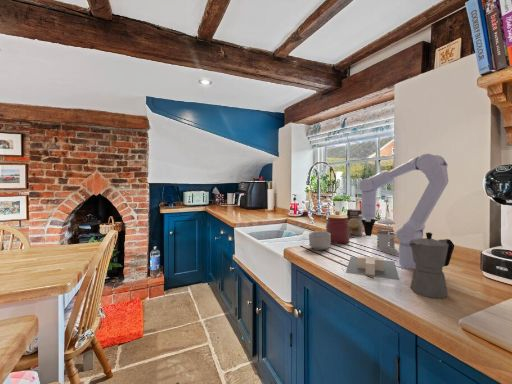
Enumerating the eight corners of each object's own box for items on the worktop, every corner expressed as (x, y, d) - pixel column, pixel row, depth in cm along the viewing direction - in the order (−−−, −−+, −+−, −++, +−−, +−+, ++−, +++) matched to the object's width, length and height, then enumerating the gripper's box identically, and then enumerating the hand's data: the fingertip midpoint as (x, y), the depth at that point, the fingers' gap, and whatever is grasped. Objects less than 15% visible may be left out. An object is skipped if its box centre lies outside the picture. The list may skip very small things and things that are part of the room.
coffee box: (346, 234, 160) (346, 209, 159) (348, 232, 165) (348, 209, 165) (361, 235, 155) (361, 210, 154) (363, 234, 160) (363, 209, 160)
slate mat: (394, 262, 102) (394, 261, 102) (399, 281, 82) (399, 279, 82) (350, 257, 109) (350, 256, 109) (345, 273, 90) (345, 272, 90)
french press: (371, 249, 123) (371, 199, 122) (381, 245, 130) (381, 198, 130) (392, 253, 115) (393, 200, 115) (401, 249, 123) (401, 199, 122)
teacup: (331, 252, 118) (331, 235, 118) (308, 251, 121) (308, 234, 120) (329, 245, 132) (329, 230, 132) (308, 244, 134) (308, 229, 134)
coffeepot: (423, 301, 68) (424, 236, 68) (397, 287, 77) (398, 230, 77) (468, 295, 71) (469, 234, 71) (438, 283, 80) (439, 228, 80)
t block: (383, 268, 93) (383, 258, 93) (384, 276, 85) (384, 265, 85) (357, 265, 97) (357, 255, 97) (356, 272, 89) (356, 261, 89)
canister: (321, 241, 142) (321, 210, 141) (333, 237, 150) (333, 209, 150) (342, 245, 132) (342, 212, 131) (353, 241, 141) (353, 210, 140)
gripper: (359, 204, 119) (359, 232, 119) (357, 206, 105) (357, 238, 106) (375, 204, 115) (375, 233, 116) (376, 207, 102) (376, 239, 103)
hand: (368, 235), depth 111 cm, fingers closed
